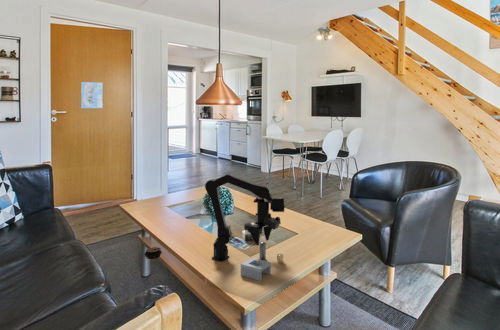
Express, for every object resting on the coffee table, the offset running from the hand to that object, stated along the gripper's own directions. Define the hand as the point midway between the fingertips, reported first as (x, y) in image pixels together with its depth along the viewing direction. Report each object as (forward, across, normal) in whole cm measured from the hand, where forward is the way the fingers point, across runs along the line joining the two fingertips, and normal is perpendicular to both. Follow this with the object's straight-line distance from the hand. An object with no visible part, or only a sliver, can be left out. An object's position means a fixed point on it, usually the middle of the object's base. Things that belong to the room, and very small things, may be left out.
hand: (262, 242), depth 148 cm
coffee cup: (+19, -26, +48) cm, 58 cm away
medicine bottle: (+9, +18, +19) cm, 28 cm away
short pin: (+9, +2, -9) cm, 13 cm away
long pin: (+9, 0, 0) cm, 9 cm away
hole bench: (+9, -15, -6) cm, 18 cm away
